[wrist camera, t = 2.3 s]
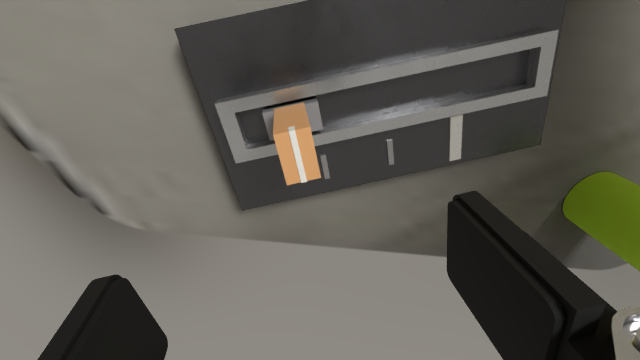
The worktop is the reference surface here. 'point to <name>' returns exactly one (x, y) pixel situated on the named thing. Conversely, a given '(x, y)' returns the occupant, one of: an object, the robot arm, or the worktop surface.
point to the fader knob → (295, 138)
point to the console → (374, 85)
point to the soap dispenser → (608, 213)
